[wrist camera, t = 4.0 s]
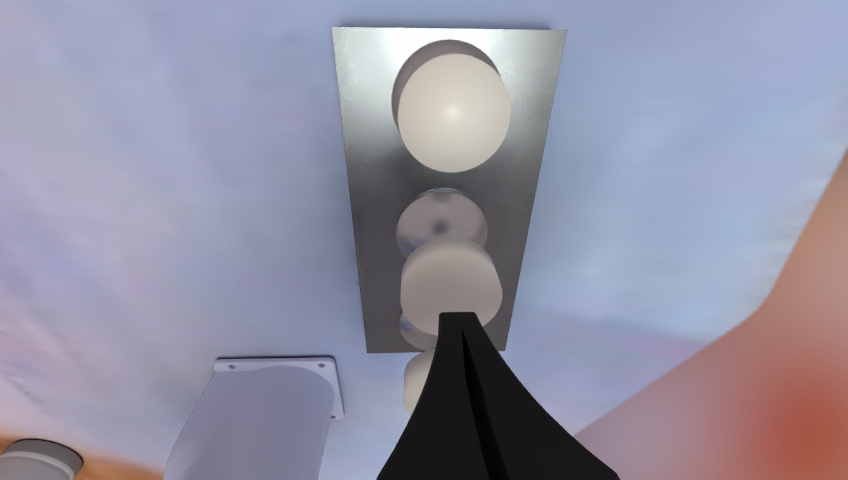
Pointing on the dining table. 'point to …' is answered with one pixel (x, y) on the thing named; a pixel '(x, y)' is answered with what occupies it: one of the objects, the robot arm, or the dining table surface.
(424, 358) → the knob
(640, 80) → the dining table surface
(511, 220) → the mount
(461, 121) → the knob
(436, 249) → the knob middle
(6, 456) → the travel mug
